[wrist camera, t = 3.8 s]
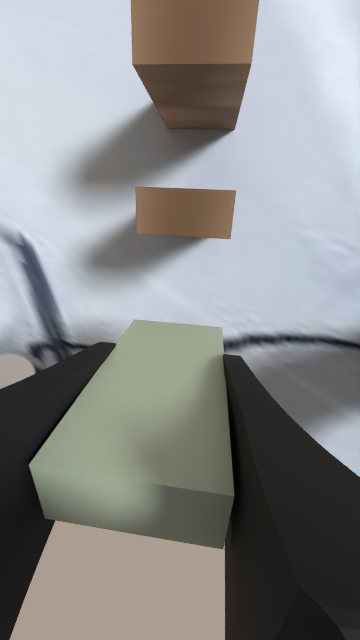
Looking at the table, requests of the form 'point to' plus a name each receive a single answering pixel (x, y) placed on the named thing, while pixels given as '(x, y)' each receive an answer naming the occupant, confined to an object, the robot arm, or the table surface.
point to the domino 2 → (194, 58)
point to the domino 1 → (146, 440)
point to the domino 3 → (185, 212)
